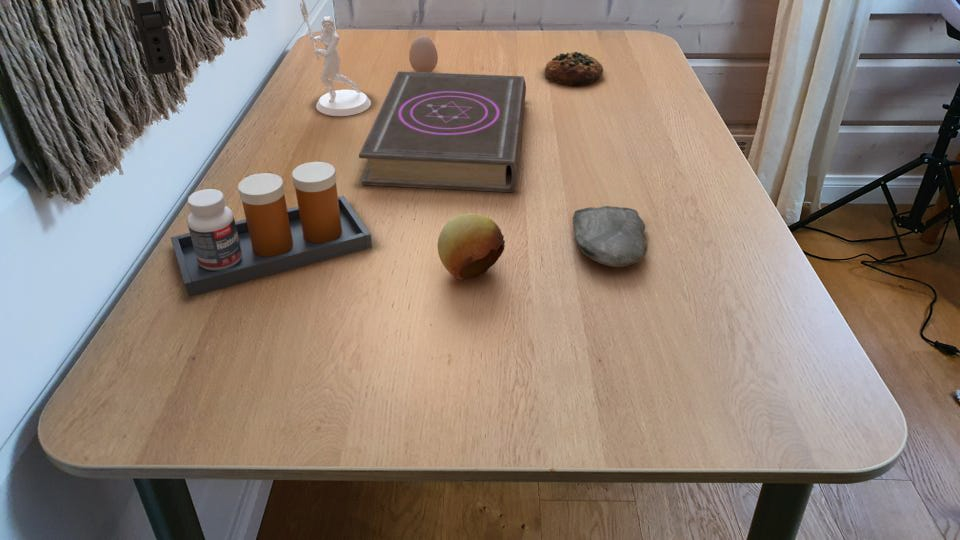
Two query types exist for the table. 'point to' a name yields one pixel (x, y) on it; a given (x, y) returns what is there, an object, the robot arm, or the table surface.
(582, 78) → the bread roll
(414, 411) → the table surface
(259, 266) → the tray
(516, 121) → the book
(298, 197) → the amber bottle far
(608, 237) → the stone
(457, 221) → the fruit
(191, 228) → the pill bottle
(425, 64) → the egg
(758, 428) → the table surface
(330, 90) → the figurine
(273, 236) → the amber bottle middle
